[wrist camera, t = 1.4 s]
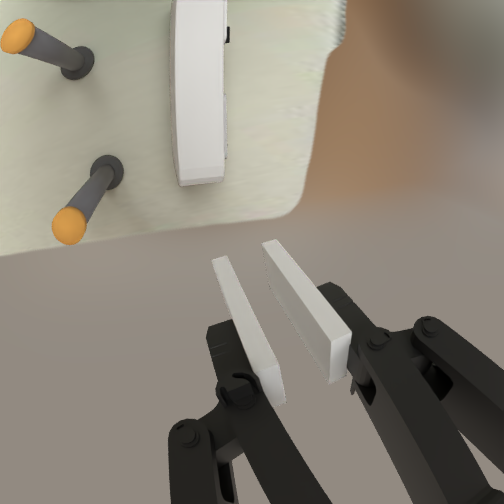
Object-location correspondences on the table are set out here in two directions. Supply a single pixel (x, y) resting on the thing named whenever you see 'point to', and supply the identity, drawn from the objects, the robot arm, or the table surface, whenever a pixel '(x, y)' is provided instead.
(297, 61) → the table surface
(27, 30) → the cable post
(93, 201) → the cable post
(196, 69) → the rounded white slab
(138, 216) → the table surface
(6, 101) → the table surface
